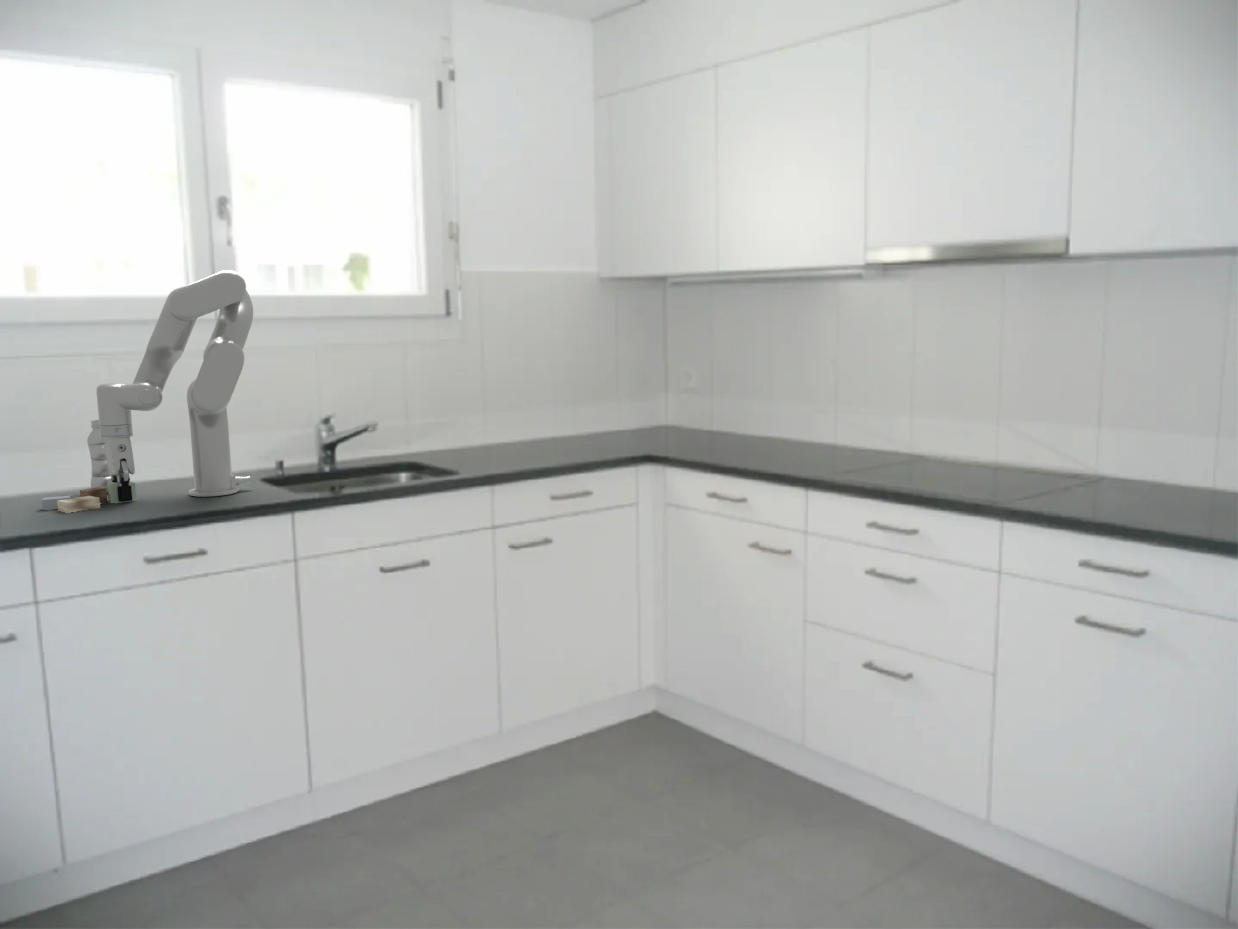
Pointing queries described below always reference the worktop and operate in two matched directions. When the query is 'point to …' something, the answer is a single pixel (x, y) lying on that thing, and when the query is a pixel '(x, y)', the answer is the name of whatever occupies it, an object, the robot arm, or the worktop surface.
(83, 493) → the walnut brick
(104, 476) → the plastic bottle
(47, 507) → the slate brick
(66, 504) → the birch brick
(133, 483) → the sage brick
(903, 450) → the worktop surface
